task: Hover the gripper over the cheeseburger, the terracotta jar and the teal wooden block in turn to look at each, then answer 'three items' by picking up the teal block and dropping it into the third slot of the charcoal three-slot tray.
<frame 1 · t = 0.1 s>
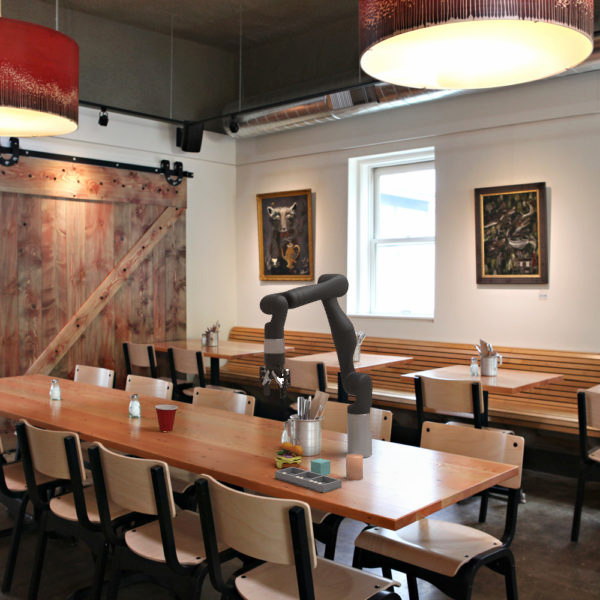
hand: (274, 396, 245), 29 cm above the table, fingers open, 8 cm apart
teal block: (320, 474, 250), on the table
slot tray: (307, 483, 240), on the table
cheeseburger: (288, 466, 263), on the table
terracotta jar: (354, 478, 245), on the table
plastic cup: (166, 431, 326), on the table
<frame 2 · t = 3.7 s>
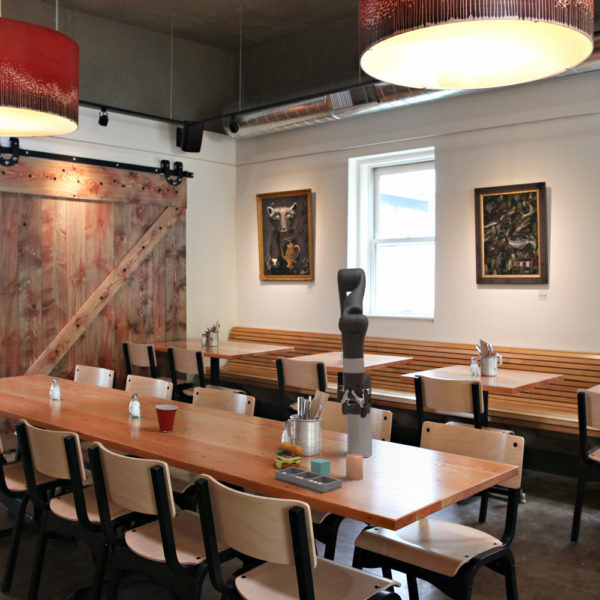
hand: (354, 416, 245), 22 cm above the table, fingers open, 8 cm apart
nothing on the table moved.
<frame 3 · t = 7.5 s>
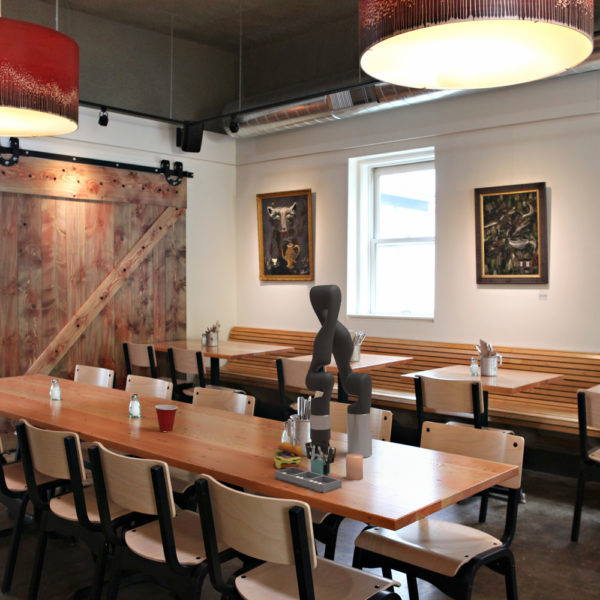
hand: (320, 472, 250), 0 cm above the table, fingers closed on teal block, 5 cm apart
teal block: (320, 474, 250), on the table, touching gripper
everything else where it was.
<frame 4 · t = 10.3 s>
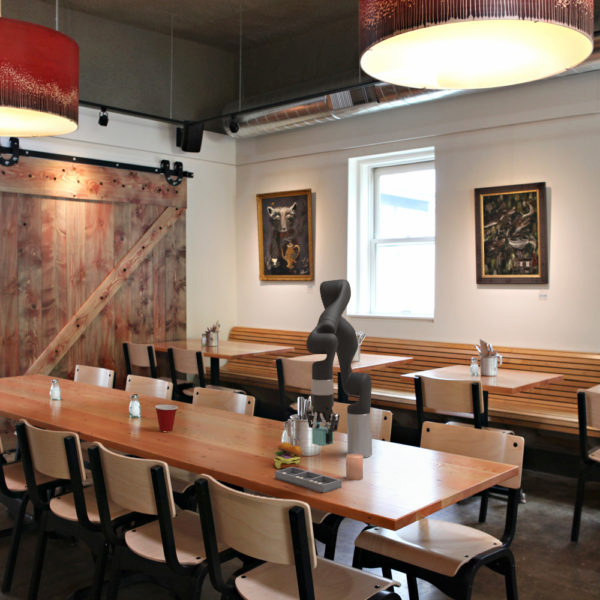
hand: (322, 442, 233), 16 cm above the table, fingers closed on teal block, 5 cm apart
teal block: (322, 443, 233), point 15 cm above the table, touching gripper
everything else where it was.
when the fingers open (3 cm above the table, at t = 13.4 s): teal block drops 2 cm, resting on slot tray.
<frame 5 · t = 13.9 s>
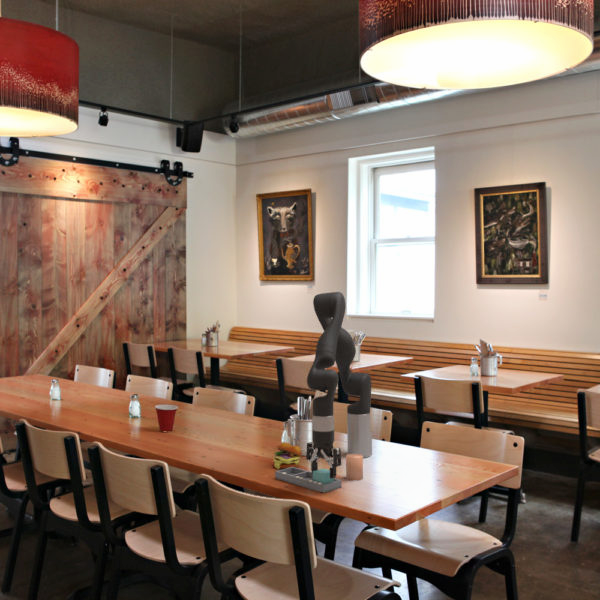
hand: (323, 475, 234), 4 cm above the table, fingers open, 8 cm apart
teal block: (323, 485, 234), point 1 cm above the table, touching slot tray
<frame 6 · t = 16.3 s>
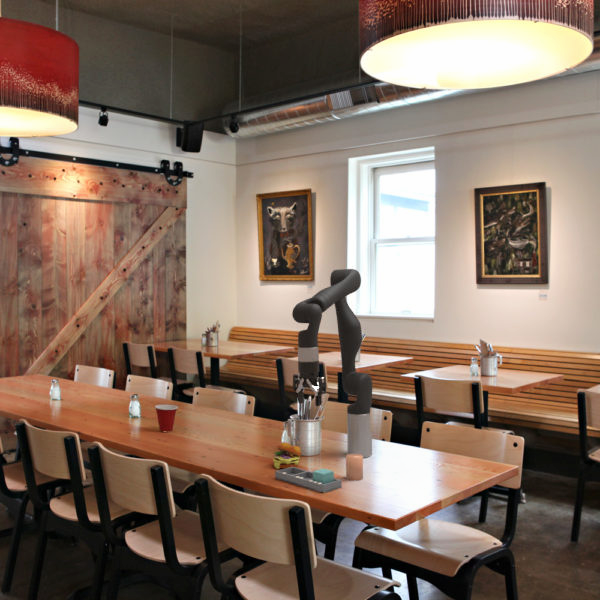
hand: (309, 404, 247), 26 cm above the table, fingers open, 8 cm apart
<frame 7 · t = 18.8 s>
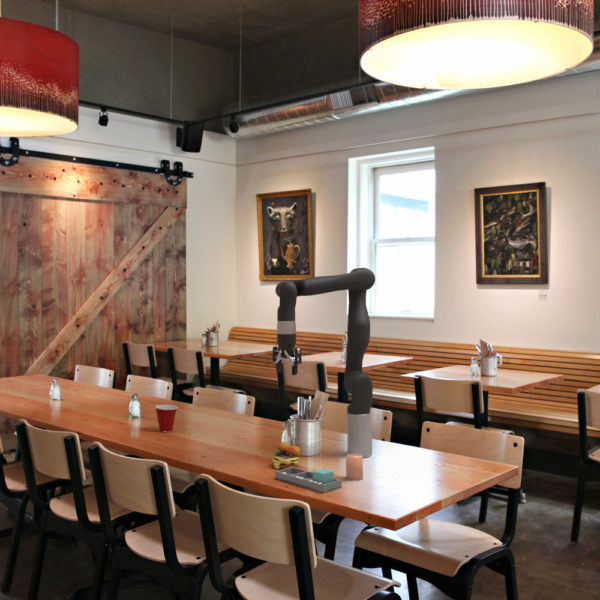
hand: (286, 374, 268), 34 cm above the table, fingers open, 8 cm apart
at the end: teal block 0.1 cm from the target spot on the slot tray, point 0.6 cm above the slot tray's base; teal block tilted 0°; the gripper is holding nothing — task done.
